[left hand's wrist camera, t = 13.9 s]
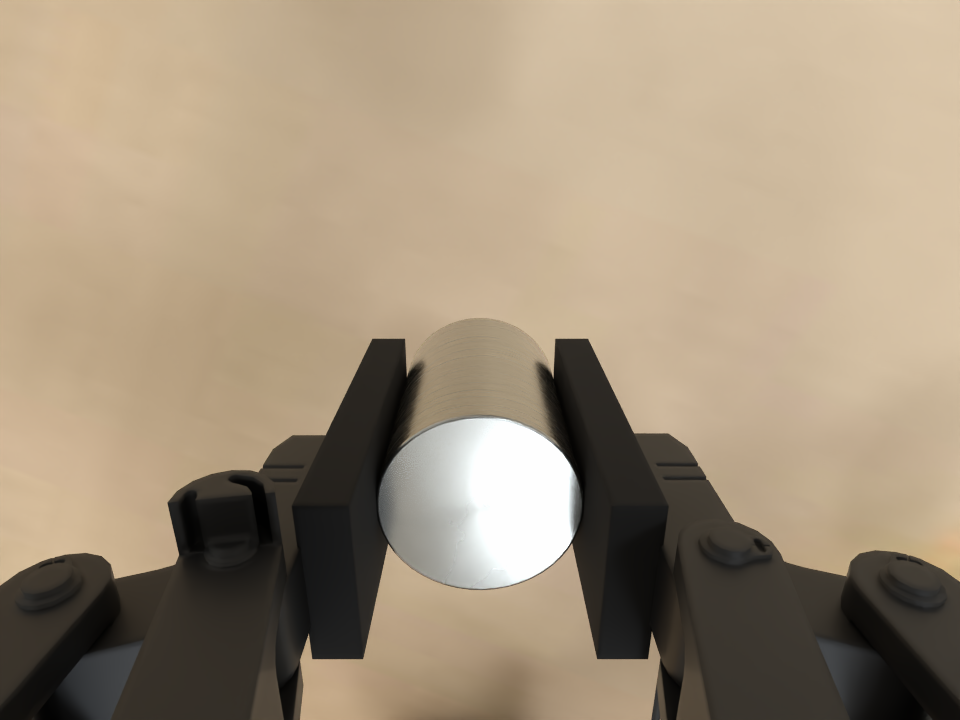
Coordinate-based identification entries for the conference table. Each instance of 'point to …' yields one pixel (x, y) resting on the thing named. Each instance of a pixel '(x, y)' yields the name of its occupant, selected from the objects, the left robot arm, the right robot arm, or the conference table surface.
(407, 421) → the can
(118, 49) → the conference table surface
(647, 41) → the conference table surface
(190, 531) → the left robot arm
